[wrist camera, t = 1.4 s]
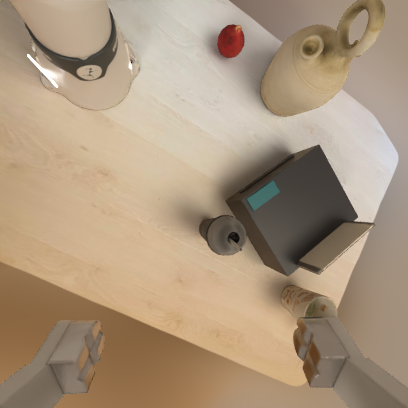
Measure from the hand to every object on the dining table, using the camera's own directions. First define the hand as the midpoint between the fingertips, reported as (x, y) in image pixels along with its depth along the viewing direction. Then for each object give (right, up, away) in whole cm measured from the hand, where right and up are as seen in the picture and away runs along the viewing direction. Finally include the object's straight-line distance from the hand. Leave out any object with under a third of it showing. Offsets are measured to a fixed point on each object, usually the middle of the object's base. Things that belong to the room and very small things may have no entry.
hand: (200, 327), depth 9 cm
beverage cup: (+1, -1, +42) cm, 42 cm away
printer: (+19, +4, +47) cm, 50 cm away
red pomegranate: (+5, +41, +44) cm, 60 cm away
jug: (+20, +33, +47) cm, 61 cm away
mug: (+23, -21, +47) cm, 57 cm away
